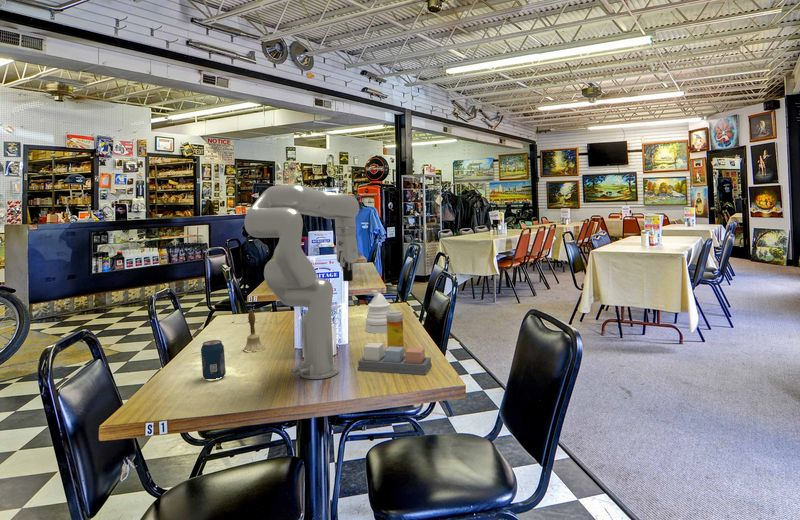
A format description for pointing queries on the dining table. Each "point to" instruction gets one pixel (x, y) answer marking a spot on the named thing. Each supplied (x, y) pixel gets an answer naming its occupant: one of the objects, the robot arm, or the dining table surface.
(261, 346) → the hand bell
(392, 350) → the blue key
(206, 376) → the soda can
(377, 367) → the grey flat block
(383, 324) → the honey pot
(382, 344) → the ivory key
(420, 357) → the terracotta key
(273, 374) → the dining table surface
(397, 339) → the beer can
